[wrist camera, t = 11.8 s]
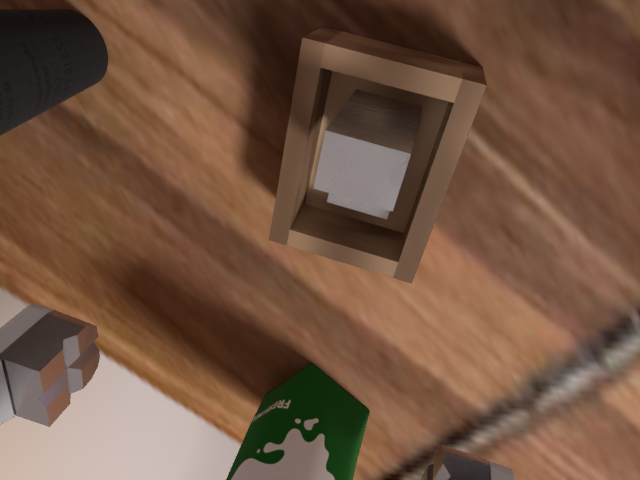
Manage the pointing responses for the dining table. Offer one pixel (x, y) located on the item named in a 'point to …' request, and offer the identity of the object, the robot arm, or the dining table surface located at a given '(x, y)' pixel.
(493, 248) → the dining table surface
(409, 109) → the grey block
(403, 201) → the wooden tray
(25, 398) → the robot arm
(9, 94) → the drinking cup
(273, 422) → the milk carton
